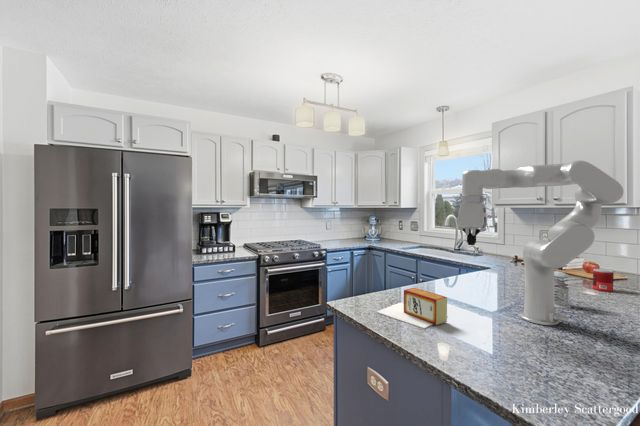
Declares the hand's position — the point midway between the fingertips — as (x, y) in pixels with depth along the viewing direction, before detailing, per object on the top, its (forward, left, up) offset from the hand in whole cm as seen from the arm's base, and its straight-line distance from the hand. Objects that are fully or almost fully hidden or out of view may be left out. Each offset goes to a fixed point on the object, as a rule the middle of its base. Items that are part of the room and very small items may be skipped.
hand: (471, 244), depth 121 cm
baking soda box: (+3, +19, -24) cm, 31 cm away
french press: (-20, -44, -29) cm, 57 cm away
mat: (+16, +19, -29) cm, 38 cm away
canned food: (-32, -92, -29) cm, 102 cm away
